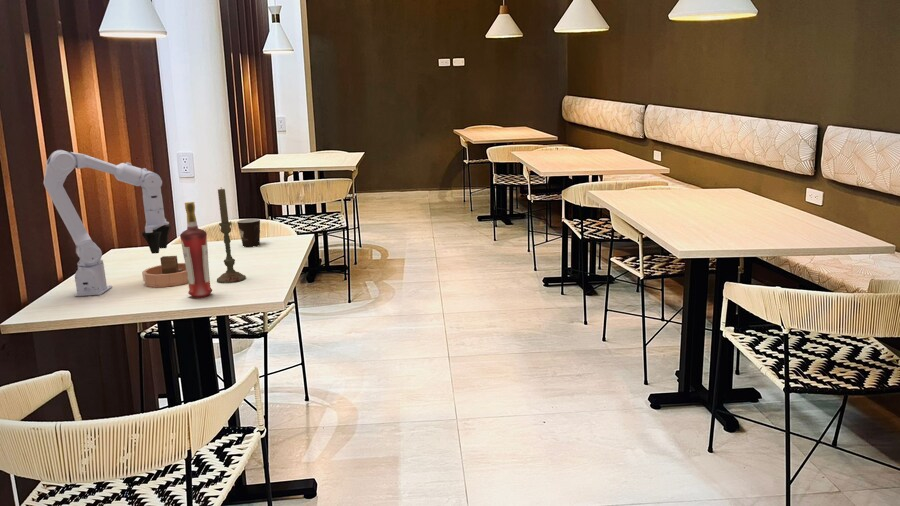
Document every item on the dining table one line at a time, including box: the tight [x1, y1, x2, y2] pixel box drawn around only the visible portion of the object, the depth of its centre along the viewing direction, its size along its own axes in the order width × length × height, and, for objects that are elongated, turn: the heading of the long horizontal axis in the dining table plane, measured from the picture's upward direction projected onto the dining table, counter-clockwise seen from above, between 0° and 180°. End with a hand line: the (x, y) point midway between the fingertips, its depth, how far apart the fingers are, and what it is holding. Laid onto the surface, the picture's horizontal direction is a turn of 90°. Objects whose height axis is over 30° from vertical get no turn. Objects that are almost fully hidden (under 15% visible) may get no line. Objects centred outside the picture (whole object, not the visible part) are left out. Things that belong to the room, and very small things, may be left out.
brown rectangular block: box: [159, 255, 179, 274], centre depth 235 cm, size 2×4×7 cm, turn 94°
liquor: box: [179, 201, 213, 299], centre depth 213 cm, size 7×7×28 cm
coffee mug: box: [237, 218, 261, 248], centre depth 285 cm, size 12×9×10 cm
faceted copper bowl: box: [141, 262, 188, 288], centre depth 236 cm, size 16×16×4 cm
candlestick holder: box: [216, 187, 247, 284], centre depth 231 cm, size 9×9×30 cm
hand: (159, 250), depth 236 cm, fingers open, 7 cm apart
